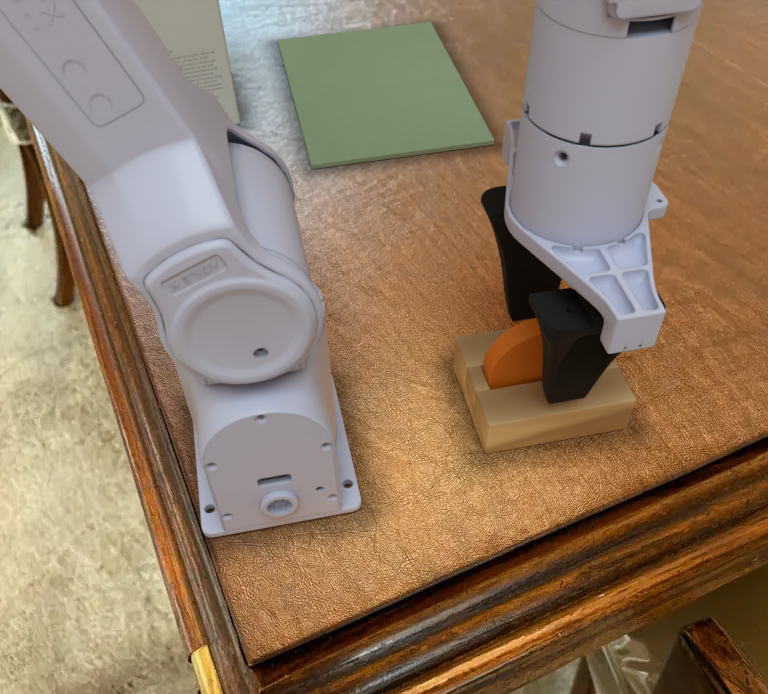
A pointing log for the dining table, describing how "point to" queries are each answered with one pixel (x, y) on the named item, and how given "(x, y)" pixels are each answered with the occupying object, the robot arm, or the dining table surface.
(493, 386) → the disc
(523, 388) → the holder
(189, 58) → the small box
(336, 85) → the mat
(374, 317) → the dining table surface
